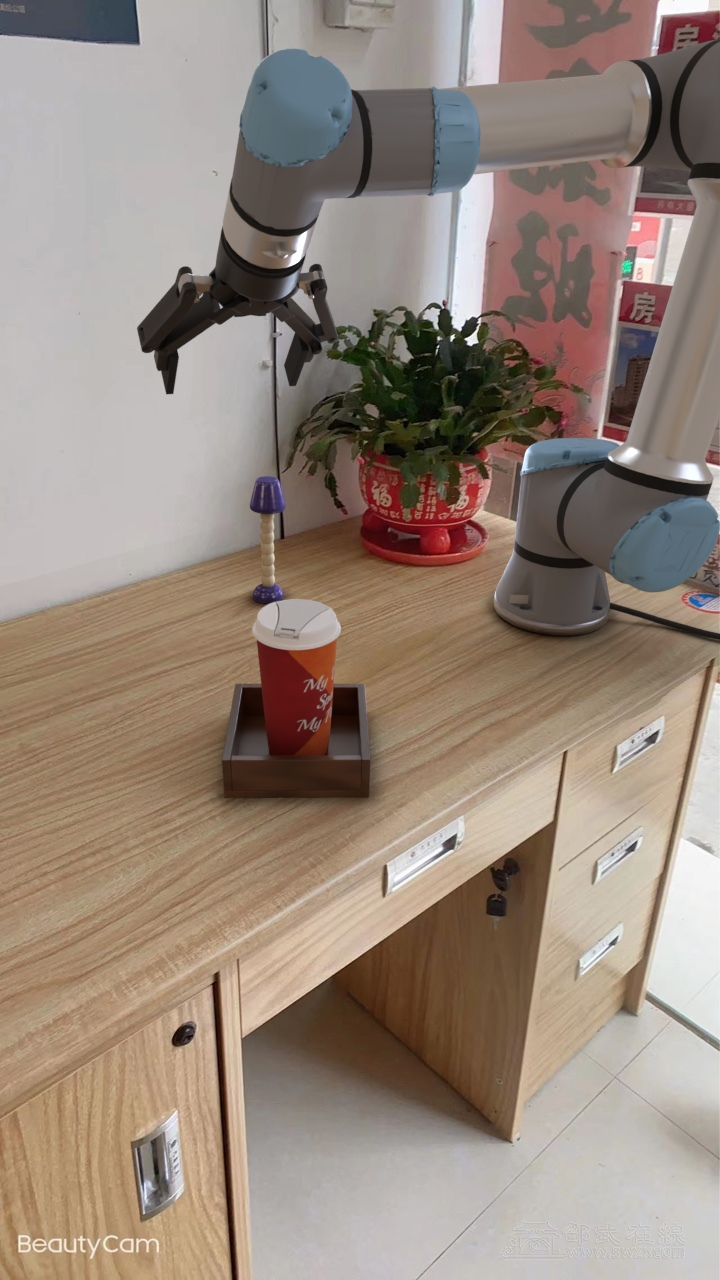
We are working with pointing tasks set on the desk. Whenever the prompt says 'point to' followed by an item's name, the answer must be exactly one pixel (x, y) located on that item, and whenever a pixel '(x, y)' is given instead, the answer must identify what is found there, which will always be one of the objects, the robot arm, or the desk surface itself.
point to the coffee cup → (297, 674)
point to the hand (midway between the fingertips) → (230, 379)
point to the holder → (297, 774)
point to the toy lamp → (267, 534)
